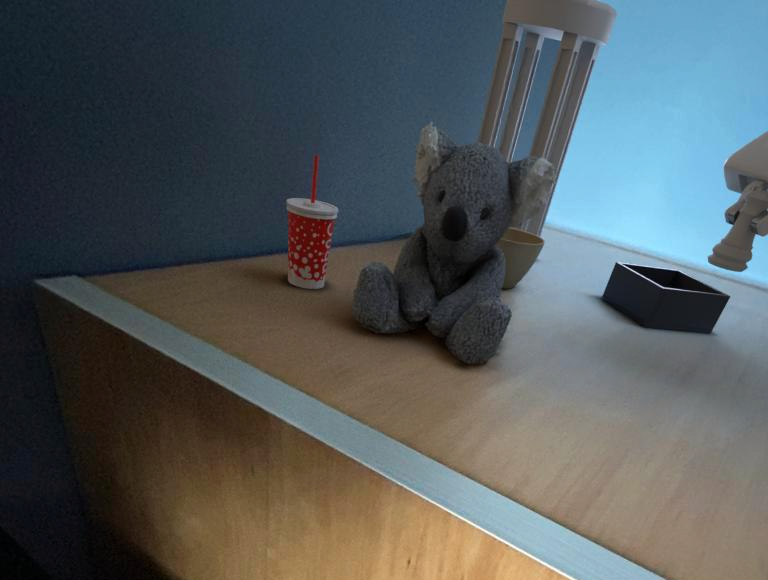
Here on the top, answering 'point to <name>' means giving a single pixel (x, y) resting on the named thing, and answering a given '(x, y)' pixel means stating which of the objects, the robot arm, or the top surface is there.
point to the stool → (574, 29)
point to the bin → (664, 298)
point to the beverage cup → (309, 238)
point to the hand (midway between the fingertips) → (742, 224)
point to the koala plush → (455, 247)
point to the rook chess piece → (740, 234)
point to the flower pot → (518, 254)
